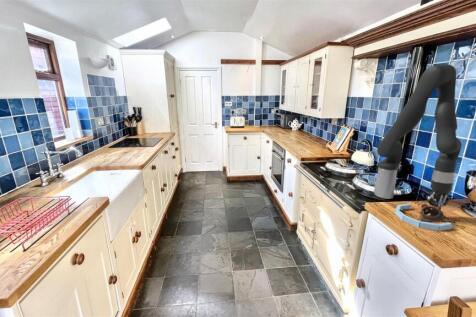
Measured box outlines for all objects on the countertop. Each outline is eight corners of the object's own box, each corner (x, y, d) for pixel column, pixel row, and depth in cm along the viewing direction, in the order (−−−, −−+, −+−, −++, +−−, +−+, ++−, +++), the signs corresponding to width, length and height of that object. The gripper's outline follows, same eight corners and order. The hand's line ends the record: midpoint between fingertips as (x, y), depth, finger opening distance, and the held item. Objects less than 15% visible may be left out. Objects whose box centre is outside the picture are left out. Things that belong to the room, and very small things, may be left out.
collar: (407, 208, 119) (408, 203, 118) (451, 229, 98) (452, 223, 98) (384, 211, 116) (385, 206, 115) (424, 233, 96) (425, 227, 95)
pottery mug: (451, 226, 101) (449, 214, 98) (428, 233, 104) (426, 221, 100) (431, 208, 112) (429, 196, 108) (411, 215, 114) (408, 204, 111)
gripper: (445, 176, 109) (438, 208, 114) (422, 178, 107) (417, 211, 111) (462, 181, 102) (455, 215, 106) (439, 184, 100) (432, 219, 104)
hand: (435, 213), depth 109 cm, fingers closed
